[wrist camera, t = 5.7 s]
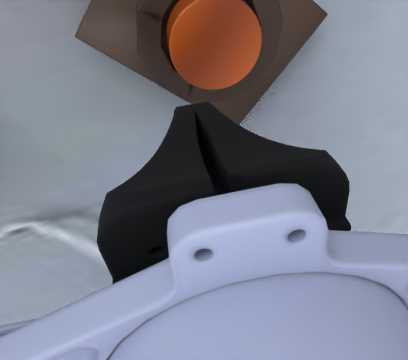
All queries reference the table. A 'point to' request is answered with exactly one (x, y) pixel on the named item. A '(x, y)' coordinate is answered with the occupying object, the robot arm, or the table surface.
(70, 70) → the table surface
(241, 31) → the lamp button
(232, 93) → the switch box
